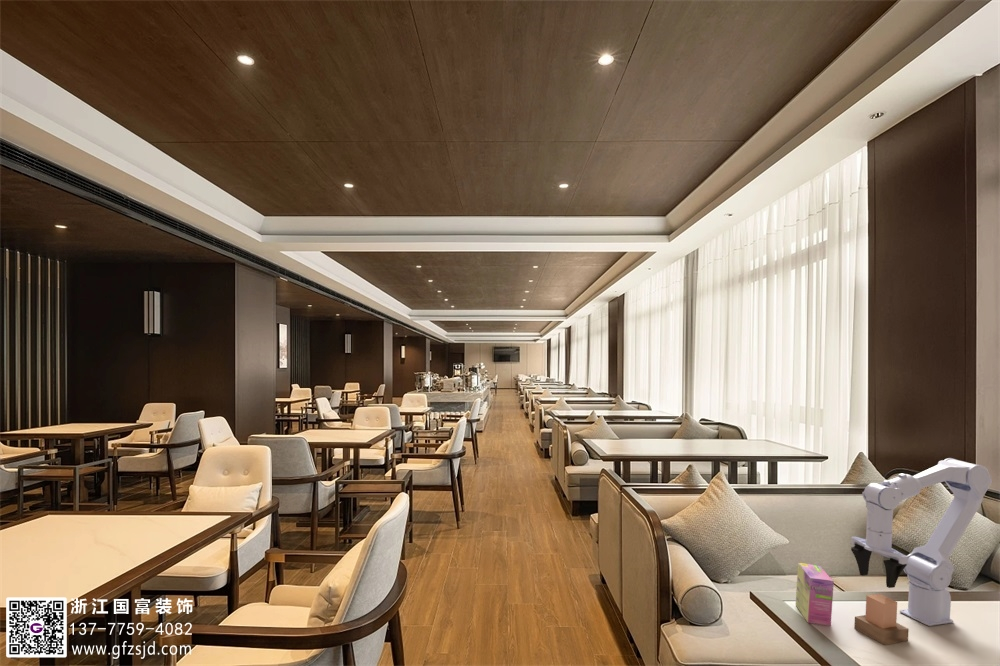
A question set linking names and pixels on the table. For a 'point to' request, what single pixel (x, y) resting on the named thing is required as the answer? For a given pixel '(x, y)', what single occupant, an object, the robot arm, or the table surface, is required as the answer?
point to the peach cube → (881, 610)
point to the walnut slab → (881, 631)
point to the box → (814, 594)
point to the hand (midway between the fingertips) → (876, 580)
